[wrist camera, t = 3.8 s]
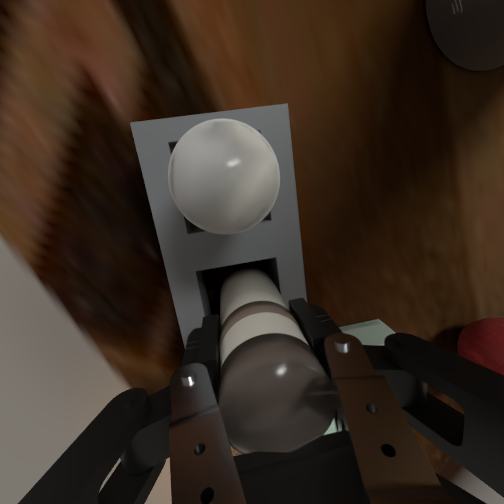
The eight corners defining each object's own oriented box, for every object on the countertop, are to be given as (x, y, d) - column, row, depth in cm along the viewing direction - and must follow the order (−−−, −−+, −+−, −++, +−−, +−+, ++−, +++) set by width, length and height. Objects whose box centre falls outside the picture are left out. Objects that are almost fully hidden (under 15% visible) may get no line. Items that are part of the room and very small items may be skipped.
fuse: (244, 152, 17) (273, 111, 8) (252, 208, 18) (285, 225, 9) (188, 160, 16) (155, 126, 8) (199, 216, 17) (181, 242, 9)
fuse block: (273, 121, 17) (287, 103, 13) (295, 313, 20) (310, 338, 17) (148, 137, 16) (130, 122, 12) (193, 333, 19) (188, 363, 16)
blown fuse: (272, 261, 16) (332, 347, 7) (279, 313, 17) (340, 443, 8) (214, 272, 16) (207, 374, 7) (225, 325, 17) (229, 470, 8)
